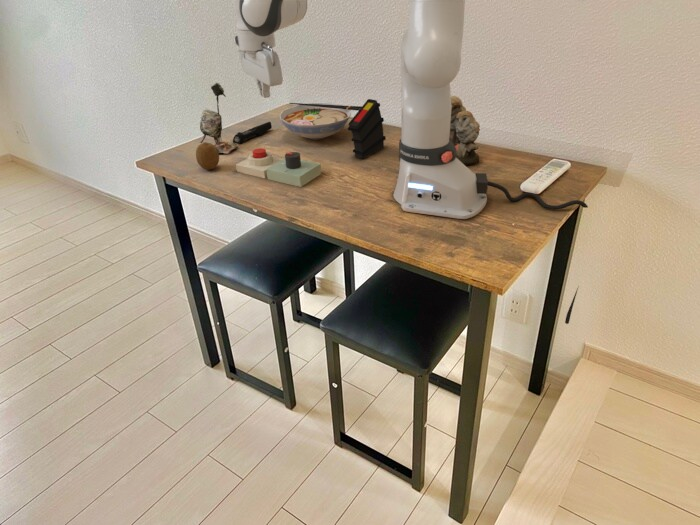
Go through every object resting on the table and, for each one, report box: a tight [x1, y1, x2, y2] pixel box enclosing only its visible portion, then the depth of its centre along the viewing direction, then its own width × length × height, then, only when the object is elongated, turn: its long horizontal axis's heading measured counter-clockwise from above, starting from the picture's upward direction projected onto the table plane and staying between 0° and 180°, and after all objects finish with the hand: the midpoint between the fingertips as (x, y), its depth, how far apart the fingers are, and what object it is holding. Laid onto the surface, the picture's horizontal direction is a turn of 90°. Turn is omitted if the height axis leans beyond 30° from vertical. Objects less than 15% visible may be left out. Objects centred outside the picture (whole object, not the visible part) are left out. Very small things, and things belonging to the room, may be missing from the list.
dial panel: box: [266, 158, 322, 188], centre depth 140 cm, size 11×10×3 cm
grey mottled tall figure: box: [199, 82, 238, 154], centre depth 154 cm, size 8×11×20 cm
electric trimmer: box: [232, 121, 273, 145], centre depth 168 cm, size 4×16×3 cm, turn 143°
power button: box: [252, 147, 267, 158], centre depth 144 cm, size 4×4×2 cm
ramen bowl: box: [278, 102, 363, 141], centre depth 165 cm, size 25×23×8 cm
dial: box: [284, 151, 302, 169], centre depth 138 cm, size 4×4×4 cm
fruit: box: [195, 141, 220, 171], centre depth 145 cm, size 6×6×8 cm
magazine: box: [347, 98, 387, 160], centre depth 150 cm, size 4×13×15 cm, turn 142°
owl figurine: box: [449, 95, 481, 167], centre depth 144 cm, size 18×12×17 cm, turn 58°
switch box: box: [235, 150, 284, 179], centre depth 145 cm, size 10×10×4 cm
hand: (265, 96), depth 137 cm, fingers closed
